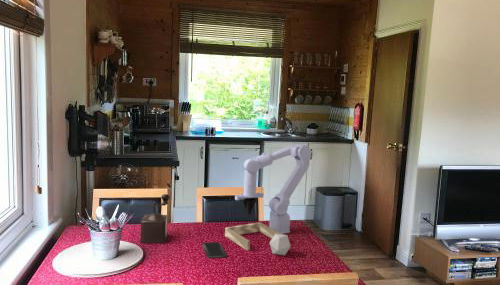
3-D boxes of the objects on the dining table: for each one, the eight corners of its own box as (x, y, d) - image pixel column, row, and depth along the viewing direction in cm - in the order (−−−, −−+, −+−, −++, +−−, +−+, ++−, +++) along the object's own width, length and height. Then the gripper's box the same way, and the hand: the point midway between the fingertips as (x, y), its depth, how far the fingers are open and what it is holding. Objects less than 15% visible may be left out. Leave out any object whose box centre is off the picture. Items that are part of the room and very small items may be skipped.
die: (292, 253, 172) (282, 231, 175) (295, 250, 164) (285, 227, 167) (274, 260, 170) (265, 239, 173) (277, 258, 162) (267, 235, 165)
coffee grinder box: (166, 243, 173) (167, 202, 171) (139, 243, 172) (140, 201, 170) (169, 231, 188) (170, 193, 186) (144, 230, 187) (145, 192, 185)
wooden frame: (259, 230, 196) (259, 222, 196) (283, 243, 180) (284, 234, 180) (224, 236, 186) (225, 227, 185) (247, 250, 170) (247, 241, 169)
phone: (207, 256, 160) (201, 242, 174) (207, 259, 160) (201, 245, 174) (227, 255, 162) (219, 241, 176) (227, 258, 162) (219, 244, 176)
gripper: (258, 182, 196) (256, 209, 197) (232, 184, 188) (230, 213, 189) (266, 185, 190) (264, 213, 191) (240, 187, 182) (238, 217, 183)
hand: (248, 213), depth 190 cm, fingers closed
